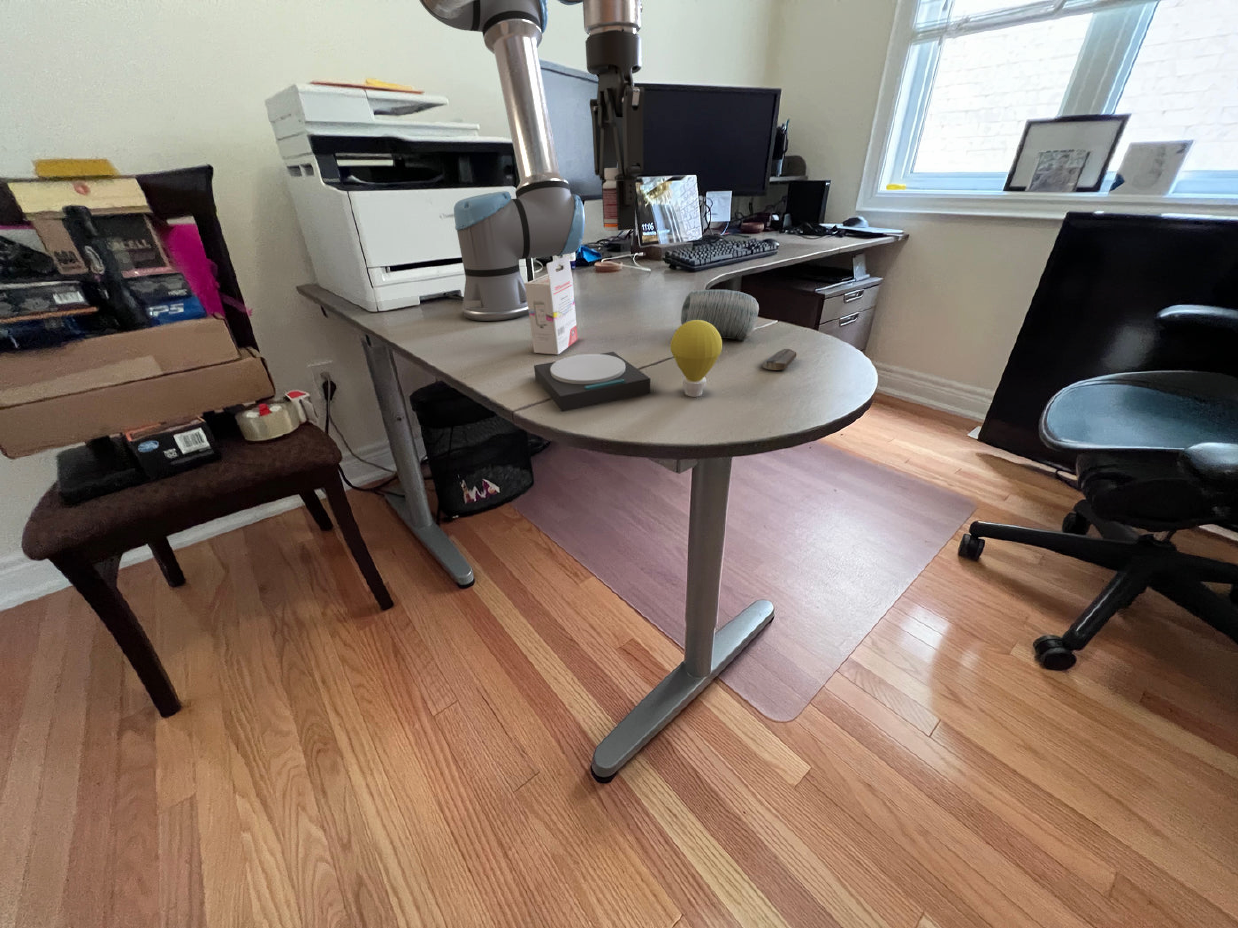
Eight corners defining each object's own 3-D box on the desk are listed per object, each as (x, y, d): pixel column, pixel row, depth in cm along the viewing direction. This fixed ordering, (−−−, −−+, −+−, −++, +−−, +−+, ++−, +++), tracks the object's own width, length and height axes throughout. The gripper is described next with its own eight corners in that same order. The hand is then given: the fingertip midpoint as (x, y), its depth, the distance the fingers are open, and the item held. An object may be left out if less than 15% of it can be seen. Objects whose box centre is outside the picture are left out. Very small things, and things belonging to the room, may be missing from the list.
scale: (535, 379, 74) (533, 361, 73) (614, 364, 79) (613, 347, 77) (561, 411, 64) (559, 391, 63) (650, 393, 68) (650, 374, 67)
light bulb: (660, 390, 69) (661, 319, 64) (698, 380, 72) (702, 311, 67) (688, 407, 64) (692, 331, 59) (728, 396, 67) (735, 322, 62)
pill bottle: (632, 231, 75) (630, 167, 71) (601, 231, 76) (598, 168, 72) (636, 227, 79) (635, 167, 75) (607, 228, 80) (605, 168, 76)
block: (796, 361, 77) (798, 350, 76) (783, 373, 73) (785, 361, 72) (774, 357, 79) (775, 346, 78) (760, 368, 75) (761, 357, 74)
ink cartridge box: (554, 338, 92) (545, 254, 84) (578, 340, 90) (571, 254, 83) (532, 353, 85) (520, 262, 77) (558, 355, 83) (548, 263, 76)
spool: (665, 322, 87) (690, 267, 84) (681, 333, 95) (704, 283, 93) (734, 351, 82) (762, 294, 80) (744, 360, 91) (770, 308, 88)
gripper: (671, 19, 60) (668, 230, 72) (611, 50, 74) (617, 222, 86) (615, 15, 57) (621, 235, 69) (564, 48, 71) (577, 225, 83)
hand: (619, 227), depth 77 cm, fingers closed on pill bottle, 5 cm apart
